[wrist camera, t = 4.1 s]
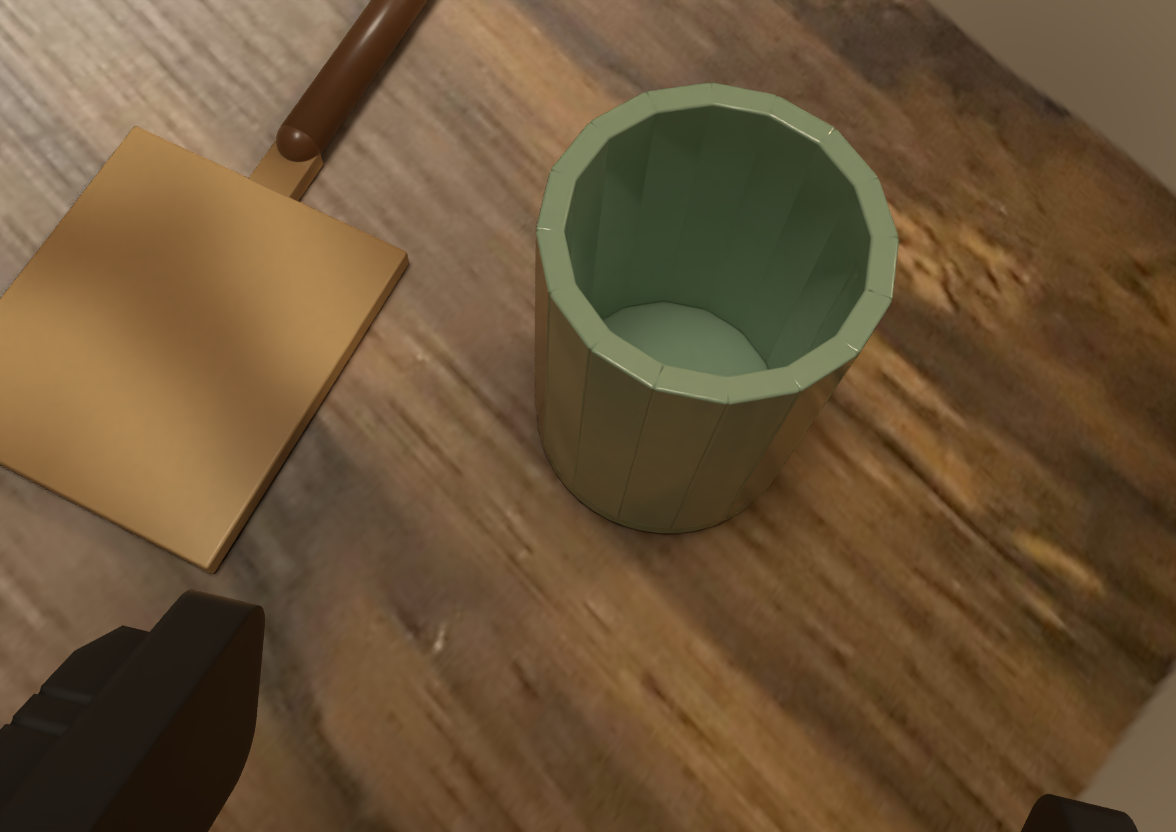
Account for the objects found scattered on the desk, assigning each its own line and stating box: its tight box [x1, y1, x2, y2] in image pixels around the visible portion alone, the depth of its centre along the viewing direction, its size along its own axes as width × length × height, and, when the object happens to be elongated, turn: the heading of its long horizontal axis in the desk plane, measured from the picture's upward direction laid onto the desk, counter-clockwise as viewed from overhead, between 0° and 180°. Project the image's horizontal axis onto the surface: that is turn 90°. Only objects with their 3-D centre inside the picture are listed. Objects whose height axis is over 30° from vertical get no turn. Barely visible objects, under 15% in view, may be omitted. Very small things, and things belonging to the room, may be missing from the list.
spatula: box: [0, 0, 428, 574], centre depth 29 cm, size 22×8×1 cm, turn 154°
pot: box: [535, 83, 899, 533], centre depth 23 cm, size 6×6×8 cm
